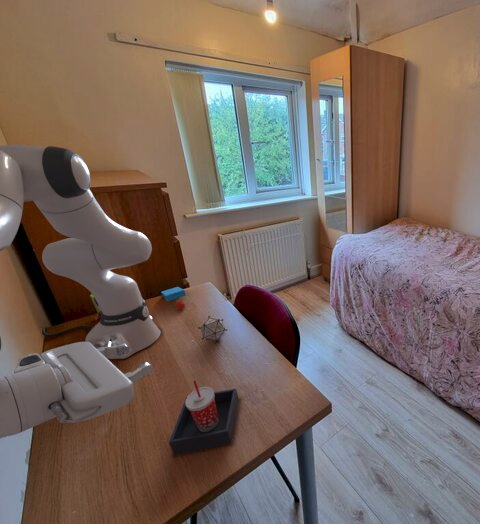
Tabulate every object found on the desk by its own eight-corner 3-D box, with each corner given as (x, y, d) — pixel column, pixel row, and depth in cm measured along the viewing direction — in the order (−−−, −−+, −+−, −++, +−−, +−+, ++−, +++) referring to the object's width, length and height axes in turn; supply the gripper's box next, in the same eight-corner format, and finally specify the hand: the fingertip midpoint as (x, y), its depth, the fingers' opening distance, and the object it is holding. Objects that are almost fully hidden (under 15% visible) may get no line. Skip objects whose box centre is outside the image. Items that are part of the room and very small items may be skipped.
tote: (174, 455, 64) (168, 442, 62) (190, 408, 75) (186, 396, 73) (231, 443, 66) (227, 431, 64) (239, 399, 77) (236, 388, 75)
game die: (214, 344, 103) (205, 318, 104) (235, 336, 103) (226, 310, 104) (198, 349, 94) (189, 321, 96) (220, 340, 94) (211, 312, 95)
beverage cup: (221, 429, 68) (208, 387, 63) (193, 439, 66) (176, 396, 61) (222, 409, 74) (210, 368, 68) (196, 416, 72) (181, 375, 66)
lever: (166, 306, 128) (173, 313, 115) (161, 291, 127) (167, 297, 113) (183, 300, 133) (191, 306, 119) (178, 286, 131) (185, 290, 117)
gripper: (60, 409, 40) (165, 364, 51) (18, 352, 50) (115, 325, 61) (65, 445, 41) (166, 394, 53) (24, 382, 51) (117, 351, 63)
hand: (138, 357), depth 57 cm, fingers open, 8 cm apart
